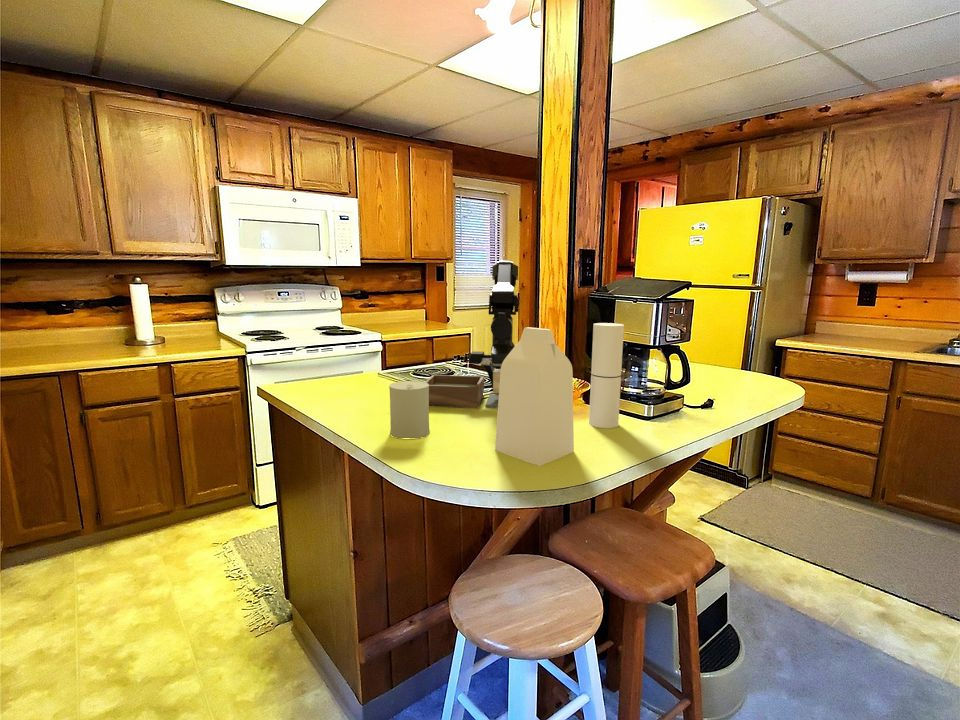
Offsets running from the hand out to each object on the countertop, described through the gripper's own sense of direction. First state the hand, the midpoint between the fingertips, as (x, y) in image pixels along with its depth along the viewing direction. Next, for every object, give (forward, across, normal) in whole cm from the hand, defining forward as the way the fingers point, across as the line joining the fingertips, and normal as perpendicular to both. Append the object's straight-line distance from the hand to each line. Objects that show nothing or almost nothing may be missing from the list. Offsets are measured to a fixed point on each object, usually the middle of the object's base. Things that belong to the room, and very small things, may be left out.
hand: (501, 387), depth 144 cm
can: (+5, -19, -32) cm, 37 cm away
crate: (+4, -14, 0) cm, 15 cm away
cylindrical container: (+5, +27, -18) cm, 33 cm away
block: (+1, 0, 0) cm, 1 cm away
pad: (+4, 0, 0) cm, 4 cm away
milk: (+5, +10, -40) cm, 41 cm away
